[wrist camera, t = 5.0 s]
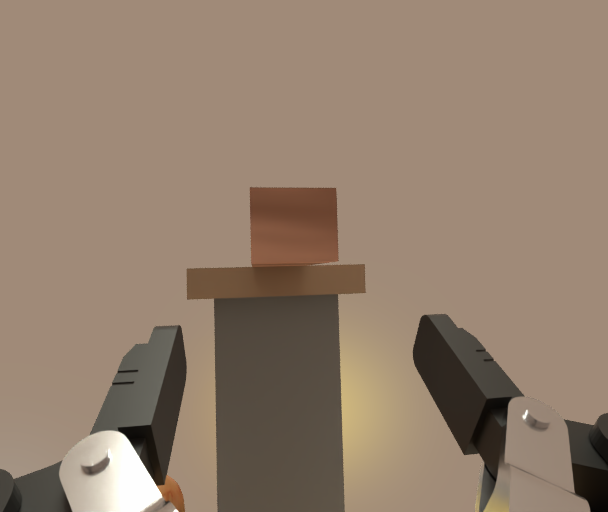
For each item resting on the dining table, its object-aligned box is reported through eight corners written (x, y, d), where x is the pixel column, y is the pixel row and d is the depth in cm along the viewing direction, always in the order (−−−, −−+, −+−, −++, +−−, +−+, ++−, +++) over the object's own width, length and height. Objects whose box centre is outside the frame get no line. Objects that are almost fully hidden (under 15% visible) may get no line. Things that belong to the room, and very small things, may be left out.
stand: (381, 748, 24) (364, 264, 25) (193, 789, 22) (186, 268, 23) (330, 557, 40) (321, 267, 41) (218, 573, 38) (213, 270, 39)
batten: (338, 261, 15) (336, 188, 15) (251, 263, 14) (249, 187, 14) (284, 268, 40) (283, 241, 40) (253, 269, 40) (252, 242, 40)
